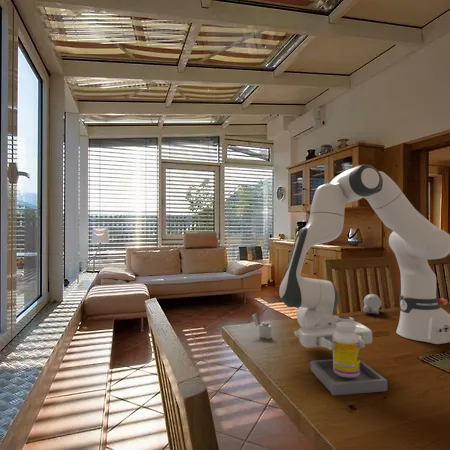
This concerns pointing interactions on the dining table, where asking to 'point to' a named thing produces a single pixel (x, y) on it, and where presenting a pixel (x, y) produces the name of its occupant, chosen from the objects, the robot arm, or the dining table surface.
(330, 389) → the tray
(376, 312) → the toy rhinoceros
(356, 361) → the supplement bottle
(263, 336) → the lighter
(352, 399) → the dining table surface
